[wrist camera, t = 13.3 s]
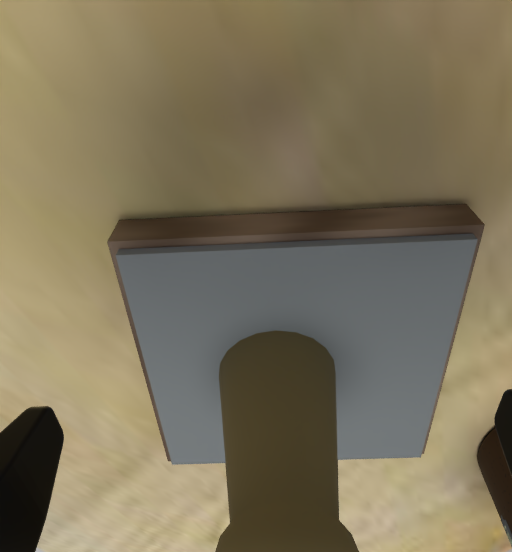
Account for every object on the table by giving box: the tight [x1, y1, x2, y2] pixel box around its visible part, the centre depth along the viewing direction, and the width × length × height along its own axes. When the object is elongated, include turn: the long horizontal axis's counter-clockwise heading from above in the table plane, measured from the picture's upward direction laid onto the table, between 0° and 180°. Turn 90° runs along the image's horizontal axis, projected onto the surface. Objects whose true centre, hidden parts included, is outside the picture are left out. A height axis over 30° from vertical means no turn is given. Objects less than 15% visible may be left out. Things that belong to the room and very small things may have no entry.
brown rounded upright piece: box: [215, 330, 359, 552], centre depth 19 cm, size 6×6×11 cm
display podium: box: [107, 204, 485, 465], centre depth 24 cm, size 16×16×2 cm
